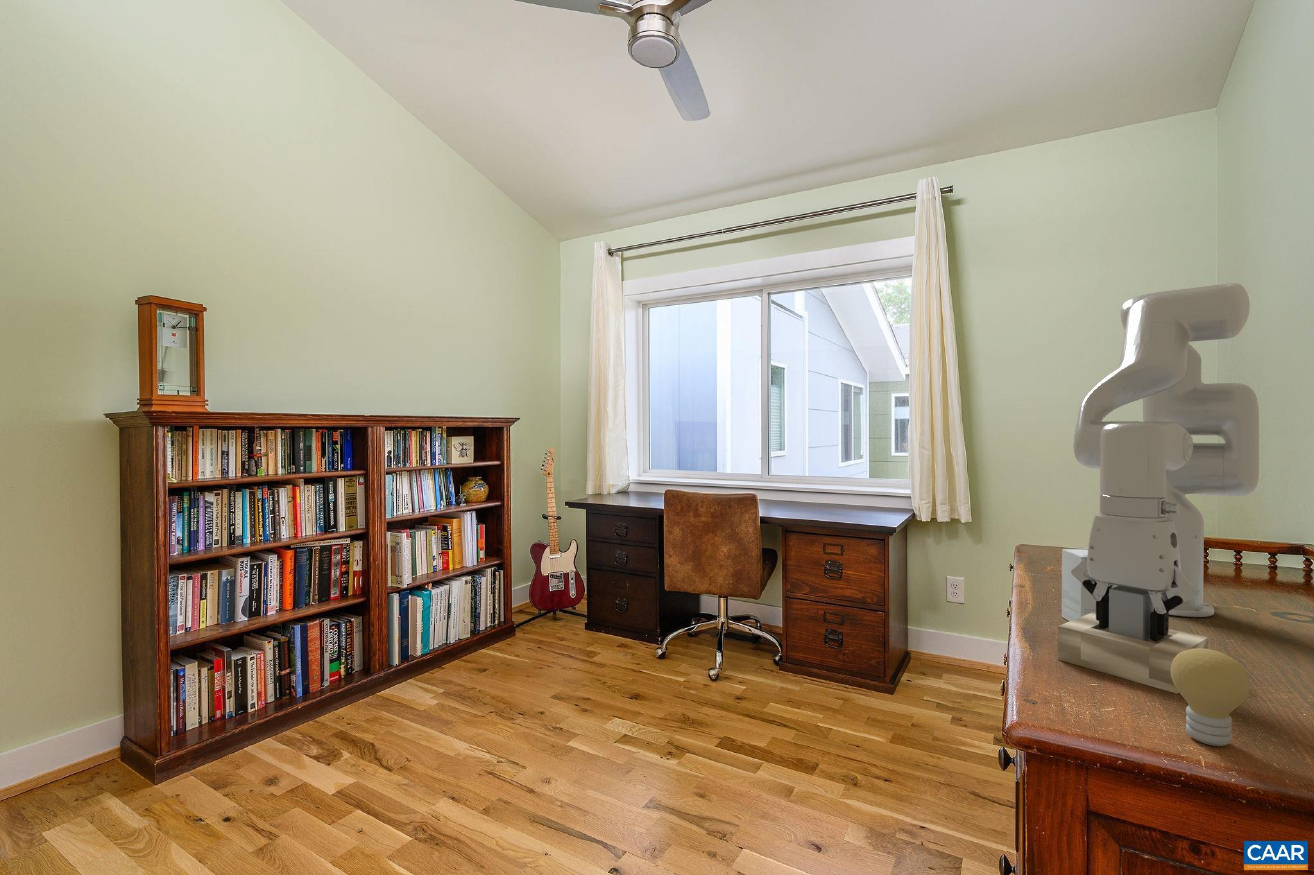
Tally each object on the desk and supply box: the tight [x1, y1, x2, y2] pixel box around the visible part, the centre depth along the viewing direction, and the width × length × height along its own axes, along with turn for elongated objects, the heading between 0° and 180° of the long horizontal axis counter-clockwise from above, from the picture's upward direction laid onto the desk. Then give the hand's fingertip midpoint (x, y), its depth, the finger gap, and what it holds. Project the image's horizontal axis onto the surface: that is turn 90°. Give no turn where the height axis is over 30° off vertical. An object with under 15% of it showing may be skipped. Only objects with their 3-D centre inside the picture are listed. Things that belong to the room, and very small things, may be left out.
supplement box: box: [1061, 548, 1118, 622], centre depth 106 cm, size 7×7×13 cm
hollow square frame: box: [1057, 612, 1209, 695], centre depth 87 cm, size 12×14×5 cm
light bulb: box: [1171, 648, 1251, 747], centre depth 66 cm, size 6×6×10 cm
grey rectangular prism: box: [1109, 586, 1154, 643], centre depth 87 cm, size 4×4×10 cm
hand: (1130, 631), depth 87 cm, fingers open, 5 cm apart
